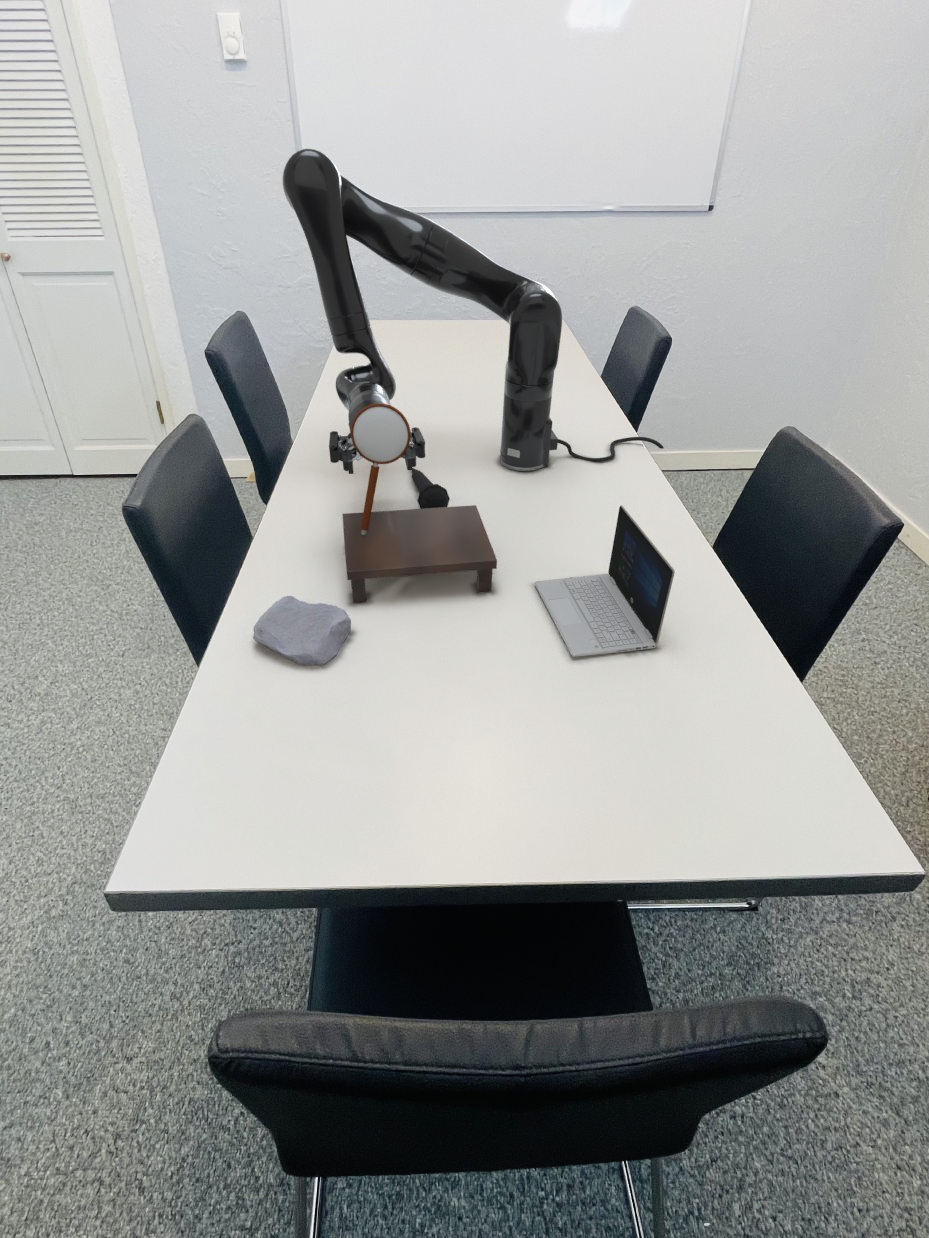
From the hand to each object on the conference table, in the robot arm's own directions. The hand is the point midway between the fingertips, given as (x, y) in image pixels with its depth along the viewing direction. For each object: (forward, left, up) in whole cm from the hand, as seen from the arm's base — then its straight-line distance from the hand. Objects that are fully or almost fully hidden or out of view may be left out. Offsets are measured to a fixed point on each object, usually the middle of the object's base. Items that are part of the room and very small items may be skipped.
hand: (380, 466), depth 102 cm
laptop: (-29, +16, -18) cm, 38 cm away
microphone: (-10, -24, -18) cm, 31 cm away
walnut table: (-5, 0, -18) cm, 18 cm away
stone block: (+13, +17, -18) cm, 28 cm away
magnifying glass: (+3, 0, -12) cm, 12 cm away
